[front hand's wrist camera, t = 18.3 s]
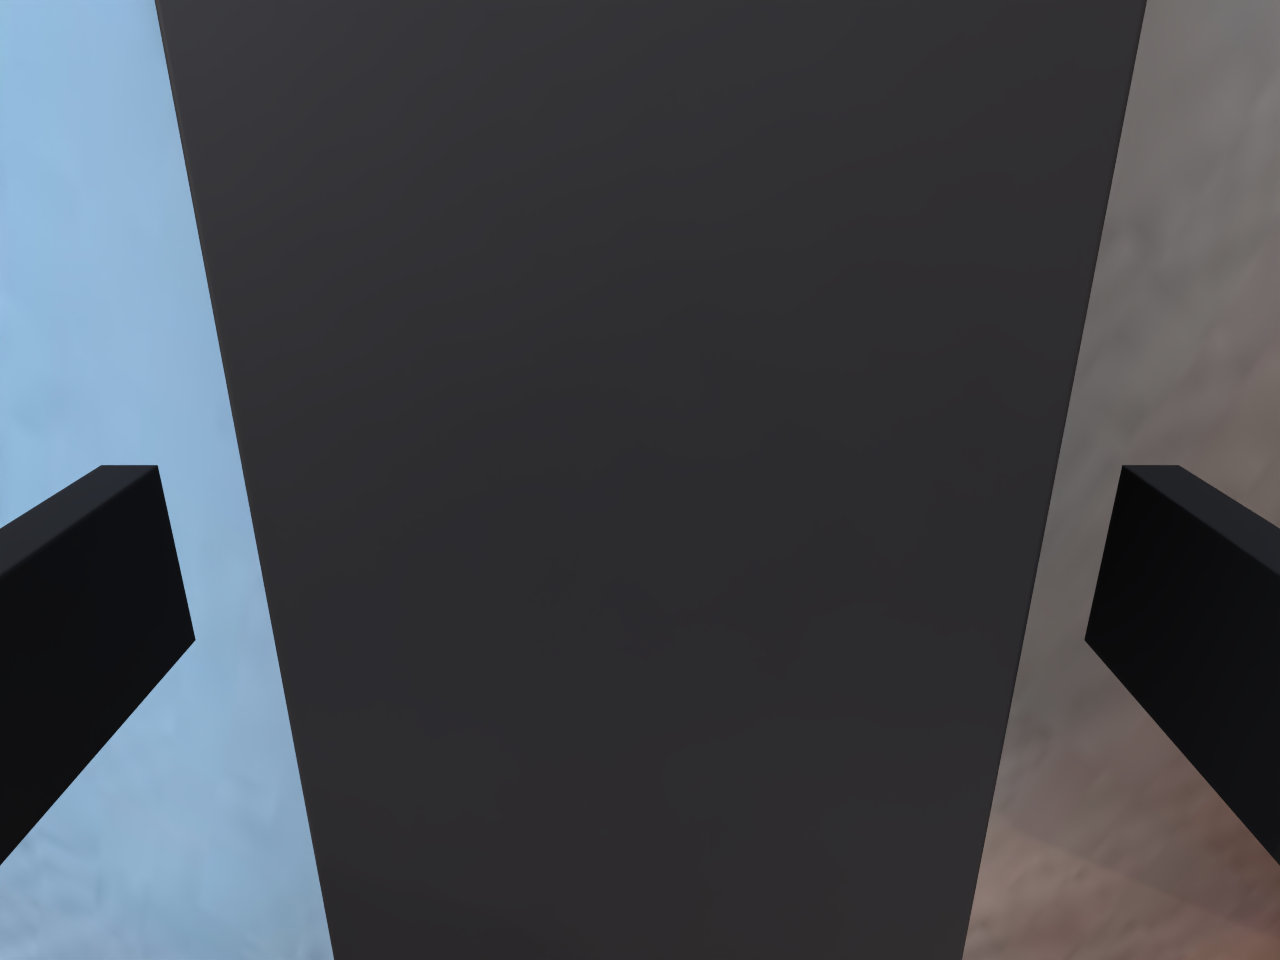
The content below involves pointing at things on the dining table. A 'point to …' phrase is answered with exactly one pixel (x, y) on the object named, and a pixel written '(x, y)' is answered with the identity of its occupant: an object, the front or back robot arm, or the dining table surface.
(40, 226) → the dining table surface
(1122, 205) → the dining table surface
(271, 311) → the box
